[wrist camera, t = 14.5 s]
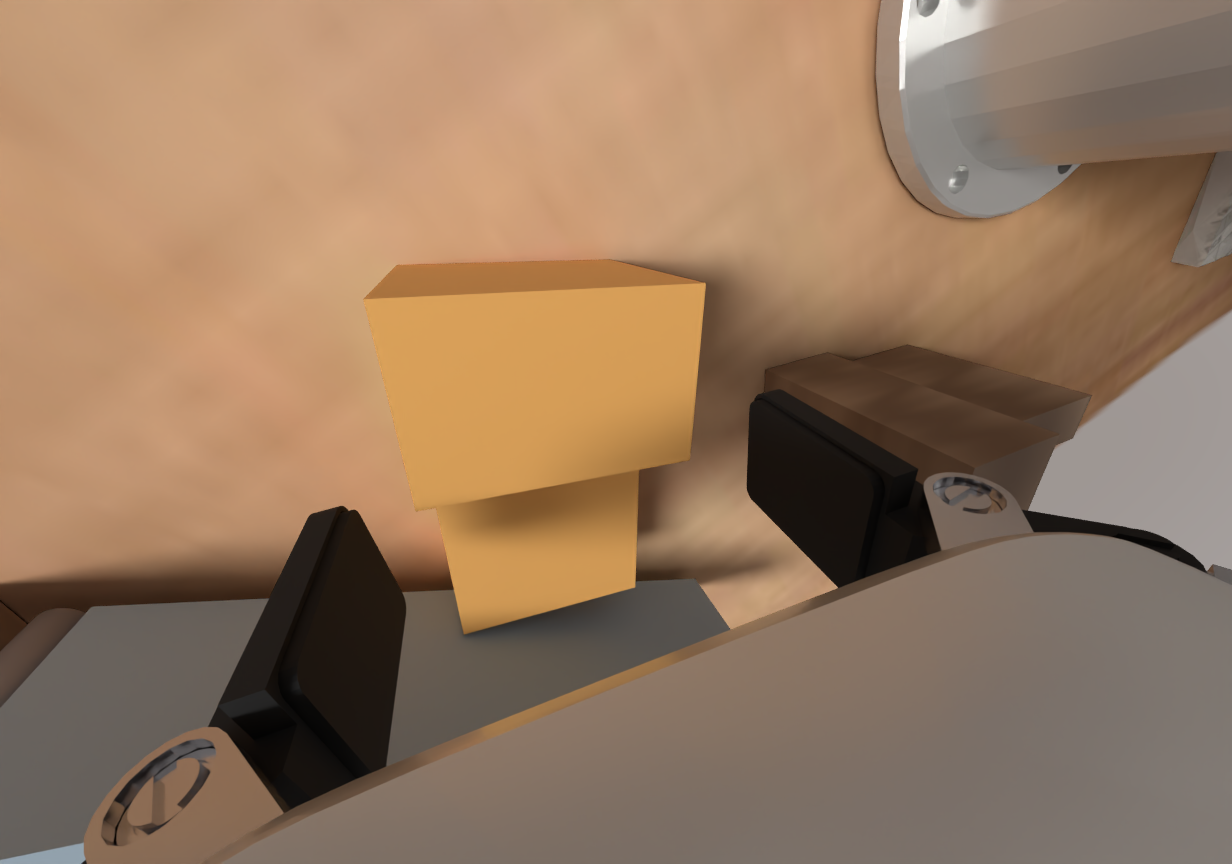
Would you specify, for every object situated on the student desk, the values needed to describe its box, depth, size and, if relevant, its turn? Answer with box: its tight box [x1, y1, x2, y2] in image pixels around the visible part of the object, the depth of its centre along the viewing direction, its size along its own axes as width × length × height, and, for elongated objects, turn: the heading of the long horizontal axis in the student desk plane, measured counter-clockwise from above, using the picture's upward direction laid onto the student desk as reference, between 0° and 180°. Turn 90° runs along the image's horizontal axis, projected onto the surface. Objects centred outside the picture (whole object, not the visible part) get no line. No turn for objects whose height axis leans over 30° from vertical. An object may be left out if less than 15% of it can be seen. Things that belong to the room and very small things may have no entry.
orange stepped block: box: [363, 259, 706, 634], centre depth 13 cm, size 11×6×6 cm, turn 179°
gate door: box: [0, 579, 731, 864], centre depth 13 cm, size 21×1×6 cm, turn 74°
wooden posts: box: [0, 345, 1092, 651], centre depth 12 cm, size 35×3×8 cm, turn 97°
